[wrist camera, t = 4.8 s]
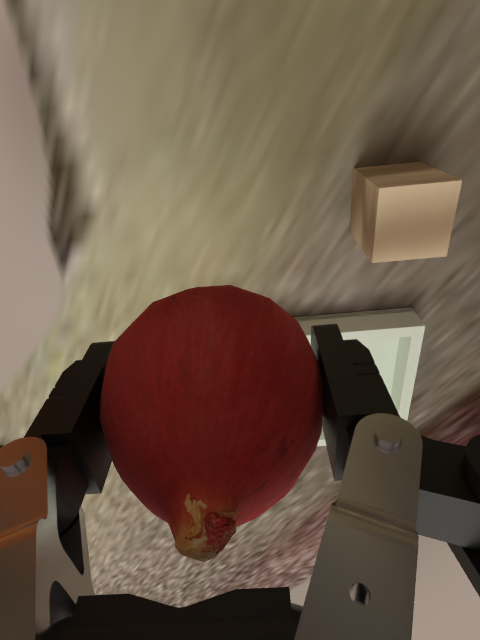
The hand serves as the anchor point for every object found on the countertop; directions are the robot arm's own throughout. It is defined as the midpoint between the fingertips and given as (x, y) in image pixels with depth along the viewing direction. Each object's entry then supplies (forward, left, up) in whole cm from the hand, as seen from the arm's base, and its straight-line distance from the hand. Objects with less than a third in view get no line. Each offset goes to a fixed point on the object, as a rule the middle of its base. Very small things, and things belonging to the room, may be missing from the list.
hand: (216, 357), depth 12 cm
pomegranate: (0, 0, -2) cm, 2 cm away
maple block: (0, +10, -15) cm, 18 cm away
